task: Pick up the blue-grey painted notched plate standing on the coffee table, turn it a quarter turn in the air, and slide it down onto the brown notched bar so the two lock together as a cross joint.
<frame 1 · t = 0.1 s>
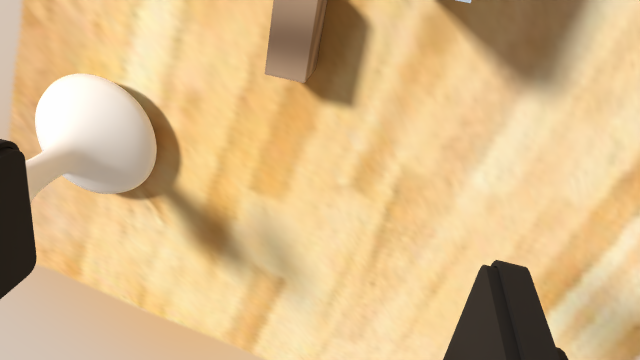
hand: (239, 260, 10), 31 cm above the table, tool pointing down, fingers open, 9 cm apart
flower in vase: (106, 121, 45), on the table
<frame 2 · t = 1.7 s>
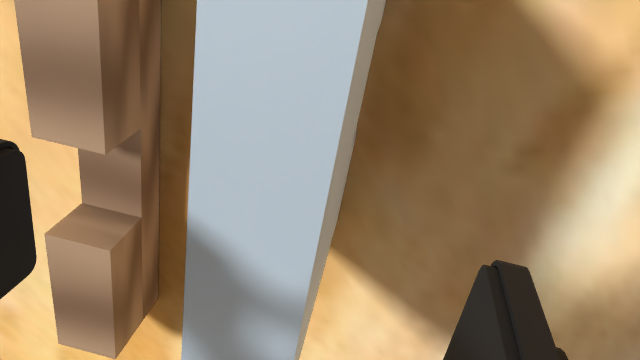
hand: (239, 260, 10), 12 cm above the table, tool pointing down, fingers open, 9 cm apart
blue grey notched plate: (333, 71, 20), on the table
brown notched bar: (130, 152, 24), on the table
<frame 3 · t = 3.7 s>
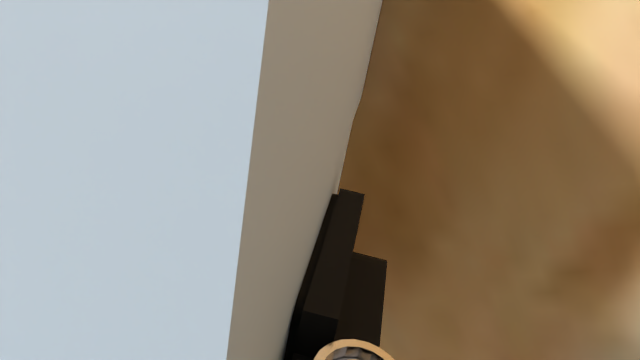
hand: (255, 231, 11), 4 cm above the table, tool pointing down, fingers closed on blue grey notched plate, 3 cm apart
blue grey notched plate: (295, 160, 14), on the table, touching gripper
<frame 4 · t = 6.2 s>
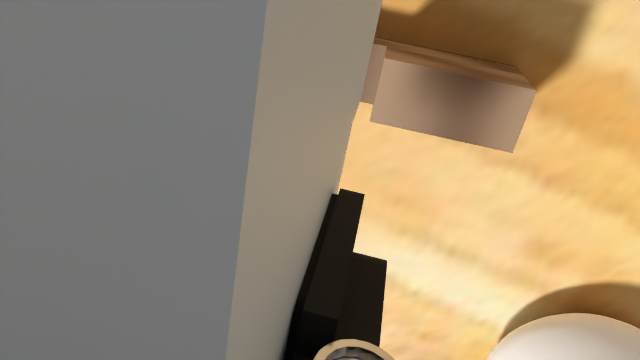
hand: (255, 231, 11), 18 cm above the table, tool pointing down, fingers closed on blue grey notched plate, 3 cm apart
blue grey notched plate: (294, 161, 14), point 14 cm above the table, touching gripper
brown notched bar: (339, 59, 26), on the table
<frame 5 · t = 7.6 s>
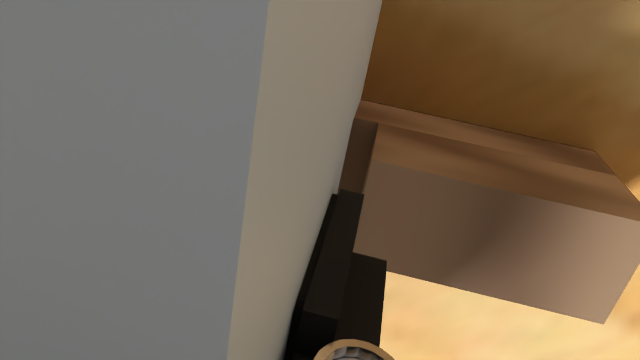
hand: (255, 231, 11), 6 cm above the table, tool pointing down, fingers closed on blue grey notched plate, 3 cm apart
blue grey notched plate: (294, 161, 14), point 2 cm above the table, touching gripper
brown notched bar: (304, 131, 16), on the table
when the fingers open (5 cm above the table, at t = 8.7 s): blue grey notched plate drops 1 cm, on the table.
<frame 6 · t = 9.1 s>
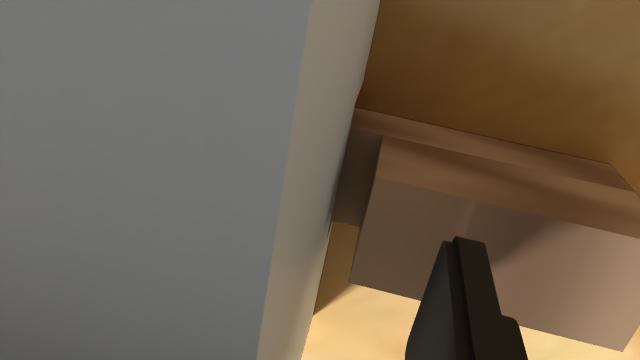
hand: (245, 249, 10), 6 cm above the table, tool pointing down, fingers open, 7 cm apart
blue grey notched plate: (302, 142, 16), on the table
brown notched bar: (305, 142, 16), on the table
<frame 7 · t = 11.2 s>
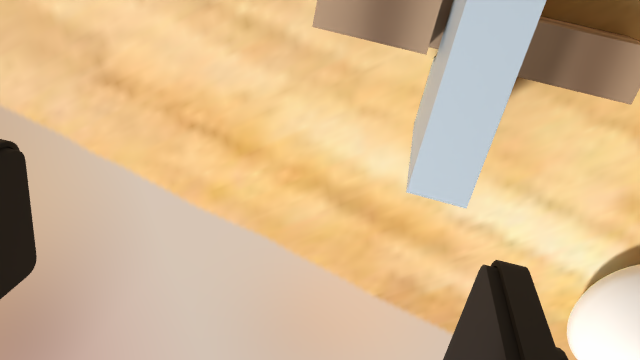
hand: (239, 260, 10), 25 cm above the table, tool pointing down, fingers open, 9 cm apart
blue grey notched plate: (468, 26, 31), on the table
flower in vase: (632, 311, 37), on the table
brown notched bar: (470, 26, 31), on the table
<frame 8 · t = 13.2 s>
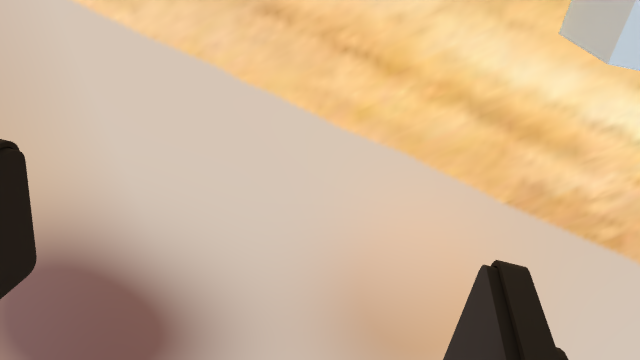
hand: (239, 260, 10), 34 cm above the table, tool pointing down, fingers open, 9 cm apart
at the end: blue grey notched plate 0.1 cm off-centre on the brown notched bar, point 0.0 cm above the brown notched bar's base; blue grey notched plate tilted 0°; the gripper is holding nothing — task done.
